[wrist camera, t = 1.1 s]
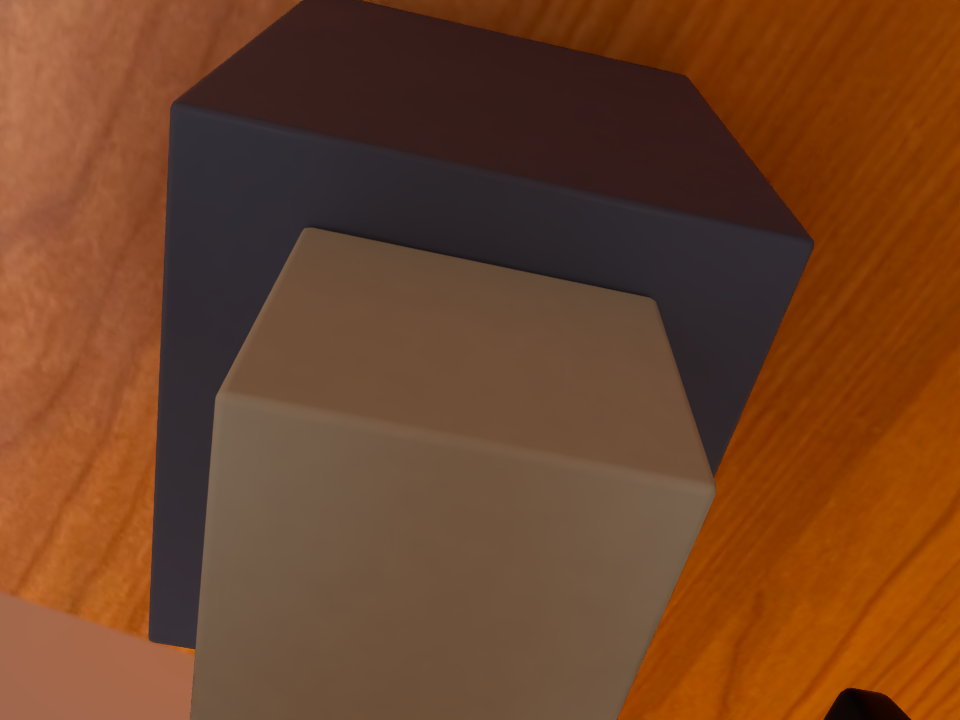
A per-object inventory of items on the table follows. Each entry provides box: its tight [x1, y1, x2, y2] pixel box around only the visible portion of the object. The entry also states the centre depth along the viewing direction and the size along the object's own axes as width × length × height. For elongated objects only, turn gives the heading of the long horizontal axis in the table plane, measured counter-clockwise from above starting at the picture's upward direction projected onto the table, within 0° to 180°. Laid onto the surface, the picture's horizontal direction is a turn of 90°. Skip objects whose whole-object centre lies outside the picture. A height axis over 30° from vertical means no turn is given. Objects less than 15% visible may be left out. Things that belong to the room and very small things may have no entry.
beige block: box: [190, 227, 716, 720], centre depth 10 cm, size 6×4×4 cm, turn 168°
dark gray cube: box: [149, 0, 814, 649], centre depth 15 cm, size 8×7×8 cm
